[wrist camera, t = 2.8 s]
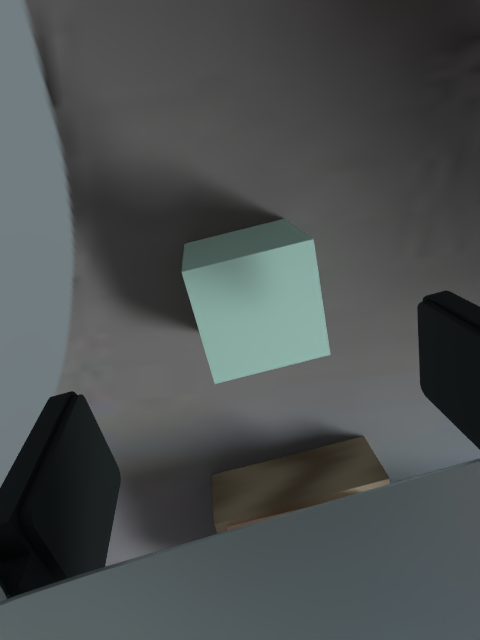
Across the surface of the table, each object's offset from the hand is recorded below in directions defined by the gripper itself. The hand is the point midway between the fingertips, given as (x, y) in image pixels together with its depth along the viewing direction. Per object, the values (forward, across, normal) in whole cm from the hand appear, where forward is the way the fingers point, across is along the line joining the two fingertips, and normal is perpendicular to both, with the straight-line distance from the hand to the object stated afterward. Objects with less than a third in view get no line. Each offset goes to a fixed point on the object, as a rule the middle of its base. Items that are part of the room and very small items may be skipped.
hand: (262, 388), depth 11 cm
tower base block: (+10, -1, +17) cm, 20 cm away
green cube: (+10, -1, 0) cm, 10 cm away
